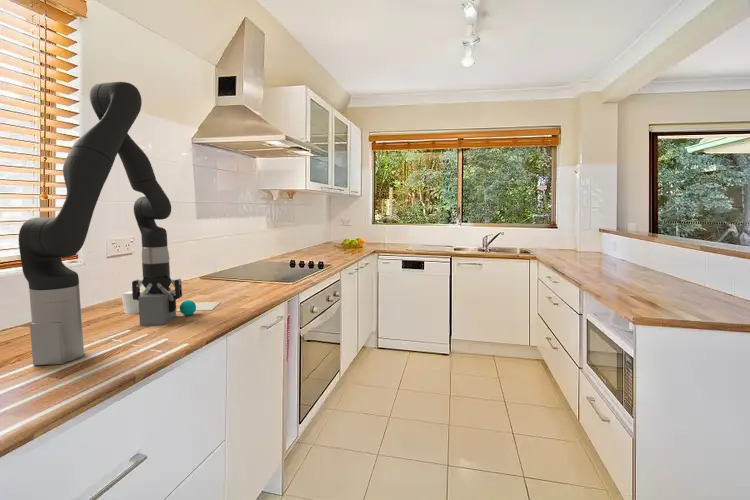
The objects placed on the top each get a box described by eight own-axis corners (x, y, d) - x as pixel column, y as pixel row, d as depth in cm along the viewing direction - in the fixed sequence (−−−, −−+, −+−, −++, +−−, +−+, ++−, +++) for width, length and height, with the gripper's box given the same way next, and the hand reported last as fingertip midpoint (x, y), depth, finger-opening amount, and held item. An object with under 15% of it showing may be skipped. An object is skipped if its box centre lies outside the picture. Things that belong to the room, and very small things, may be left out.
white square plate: (211, 310, 144) (211, 309, 144) (175, 311, 142) (175, 310, 142) (220, 302, 156) (220, 301, 156) (187, 303, 154) (187, 302, 154)
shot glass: (135, 314, 138) (133, 294, 137) (117, 313, 139) (116, 293, 138) (150, 309, 144) (149, 290, 144) (133, 308, 146) (132, 289, 145)
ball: (193, 316, 135) (193, 301, 134) (177, 317, 134) (177, 302, 134) (198, 313, 140) (197, 298, 139) (182, 313, 139) (182, 298, 139)
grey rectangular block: (163, 325, 125) (162, 296, 125) (139, 325, 125) (138, 297, 124) (176, 315, 136) (175, 289, 135) (154, 316, 135) (153, 290, 134)
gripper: (125, 263, 124) (129, 316, 126) (175, 262, 126) (178, 314, 127) (136, 259, 131) (139, 310, 133) (183, 259, 133) (186, 308, 135)
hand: (158, 312), depth 130 cm, fingers open, 7 cm apart
